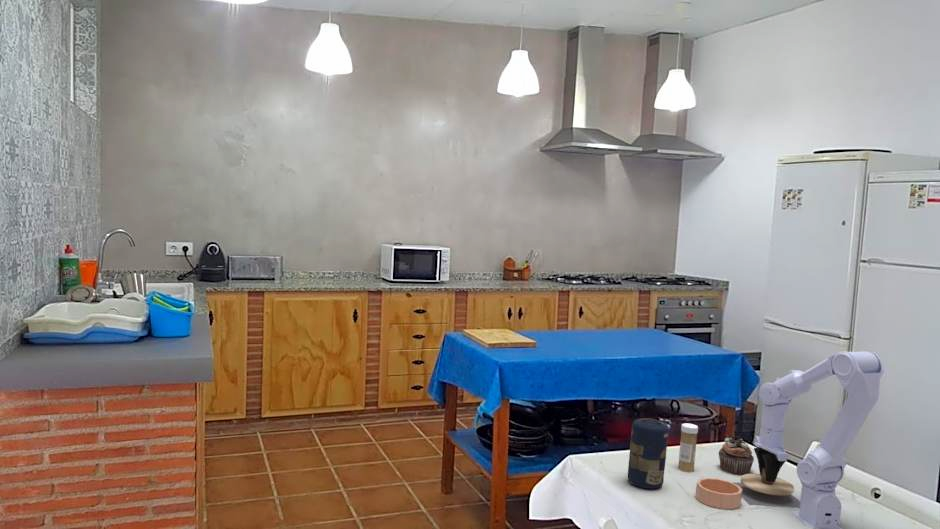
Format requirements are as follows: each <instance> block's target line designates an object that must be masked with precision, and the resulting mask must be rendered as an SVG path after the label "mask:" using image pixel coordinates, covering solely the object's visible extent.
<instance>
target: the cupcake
mask: <svg viewBox="0 0 940 529" xmlns="http://www.w3.org/2000/svg"><path fill="white" fill-rule="evenodd" d="M752 454H753V452H752V450H751V448H750V446H749V444H748V443H746V441H744V439H743V438H742V437H734V436H731V435H729V436H727V437H726V438H724V443H723V445H722V447H721V448H720V449H719V451H718V458H719V459H718V460H719V468H720V469H721V470H722V471H723V472H726V473H728V474H732V475H736V476H737V475H738V476H742V475H745V474H751V469H752V466H753V464H754V461H755V458H754V456H753V455H752Z"/></svg>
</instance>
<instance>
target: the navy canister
mask: <svg viewBox="0 0 940 529" xmlns="http://www.w3.org/2000/svg"><path fill="white" fill-rule="evenodd" d="M669 429H670V428H669V425H668V424H667V423H666V422H663V421H661V420H658V419H654V418H644V417H643V418H642V417H641V418H637V419H635V420H634V421H632V424H631V434H630V442H629V443H630V444H629V455H628V456H629V457H628V467H627V468H628V469H627V479H628V481H629V482H630V483H631V484H632V485H634V486H636V487H639V488H643V489H657V488H660V487H662V485H663V484H664V477H665V470H666V468H665V467H666V460H667V449H668V438H669Z"/></svg>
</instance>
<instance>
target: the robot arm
mask: <svg viewBox="0 0 940 529" xmlns="http://www.w3.org/2000/svg"><path fill="white" fill-rule="evenodd" d="M885 371H886V370H885V368H884V365H883V363H882V360H881V358H880V356H879V355H878V354H877V353H876V352H874V351H872V350H862V351H847V350H842V351H838V352H837V353H834V354H831V355H829V356H828V357H827V358H826V359H824V360H822V361H820V362H818V363H817V364H815V365H813V366H812V367H810V368H808V369H807V370H805V371H802V370H798V369H791V370H789V371H788V374H787V375H785V376H783V377H777V378H775V381H774V382H764V383H763V384H762V385H761V386H760V388H759V391H758V396H759V399H760V401H761V402H762V411H761V420H760V431H759V432H760V433H759V435H755V437H754V446H755V447H754V448H753V450H754V453H755V455H756V459H757V463H758V470H759V474H760V476H762V468H765V475H766V481H767V482H775V480H776V478H778V476H779V475H778V474H779V472H780V470H781V468H782V467H783V466H784V465H785V463H786V462H788V453H787V452H786V450H785V447H784V436H785V426H786V417H787V411H788V410H789V405H790V404H791V403H792V402H793V400H794V399H796V398H797V397H800V396H802V395H804V394H806V393H808V392H810V391H811V389H812V386H813V384H815V383H818V382H820V381H822V380H824V379H827V378H829V377H832V376H834V375H836V377H837V380H839V381H840V382H839V383H841V384H840V385H842V386H843V388H844V390H845V391H846V392H847V393H848V396H847V398H846V399H845V401H844V403H843V405H842V406H841V407H840V410H839V412H838V414H836V417H835V419H834V420H833V421H832V424H831V425H830V426H829V429H828V431H827V432H826V434H825V435H824V437H823V439H822V441H821V443H820V444H819V446H818V447H816V448H814V449H813V450H811V451H810V452H809V453H807V455H806V457H805V458H803V459H801V460H799V461H798V463H797V465H796V474H797V478H798V479H799V481H800V484H801V491H800V492H801V493H800V500H799V501H800V508H799V509H798V511H797V510H792V511H791V512H792V514H794V515H795V516H796V517H797V518H799V519H800V520H801V522H803V523H804V524H805V525H806V526H807V527H808V528H810V529H811V528H812V529H843V528H842V527H841V526H840V523H841V514H842V512H841V511H842V503H841V500H840V499H839V498H838V496H837V494H836V488H837V486H838V483H840V482H841V481H842V480H843V478H844V475H845V474H844V473H845V468H846V466H847V464H848V462H847V460H846V458H845V457H844V456H845V455H846V453H847V451H848V450H849V448H850V447H851V445H852V443H853V442H854V440H855V438H856V436H857V435H858V433H859V431H860V430H861V429H862V426H864V424H865V422H866V420H867V418H868V417H869V415H870V414H871V412H872V410H873V409H874V408H875V407H874V406H875V405H876V404H877V402H878V399H879V395H880V394H879V393H880V386H881V385H880V383H881V377H882V376H883V375H884V373H885Z"/></svg>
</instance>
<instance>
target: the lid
mask: <svg viewBox="0 0 940 529" xmlns="http://www.w3.org/2000/svg"><path fill="white" fill-rule="evenodd" d="M740 483H742V484H743V485H744V486H746V487H748V488H750V489H752V490H755V491H758V492H761V493H765V494H771V495H790V494H792V495H793V493H794V492H795V486H794V485H793V483H791V482H789V481H787V480H785V479H783V478H781V477H780V478H779V477H777V478H776V480H775V482H767V481H766V475H765V468H762V476H760V473H749V474H745V475H740Z"/></svg>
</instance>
